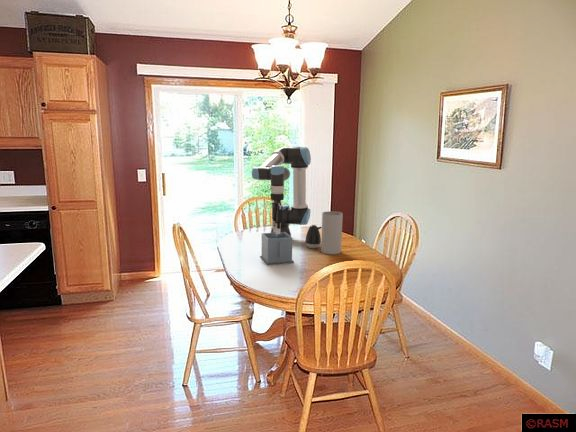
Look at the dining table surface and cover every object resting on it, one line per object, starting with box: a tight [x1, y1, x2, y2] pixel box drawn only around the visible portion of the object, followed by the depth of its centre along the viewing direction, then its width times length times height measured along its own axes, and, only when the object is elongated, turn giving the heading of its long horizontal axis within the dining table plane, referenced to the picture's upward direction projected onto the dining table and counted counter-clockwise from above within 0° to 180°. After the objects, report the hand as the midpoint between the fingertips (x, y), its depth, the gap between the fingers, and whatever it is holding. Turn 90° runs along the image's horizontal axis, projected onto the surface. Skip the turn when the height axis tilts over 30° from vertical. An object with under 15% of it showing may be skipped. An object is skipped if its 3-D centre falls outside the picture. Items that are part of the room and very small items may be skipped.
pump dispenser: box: [305, 224, 322, 249], centre depth 268 cm, size 10×10×15 cm
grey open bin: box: [259, 232, 294, 266], centre depth 240 cm, size 18×16×15 cm
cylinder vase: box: [320, 210, 343, 256], centre depth 257 cm, size 12×12×25 cm
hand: (276, 232), depth 239 cm, fingers closed on plunger, 4 cm apart
